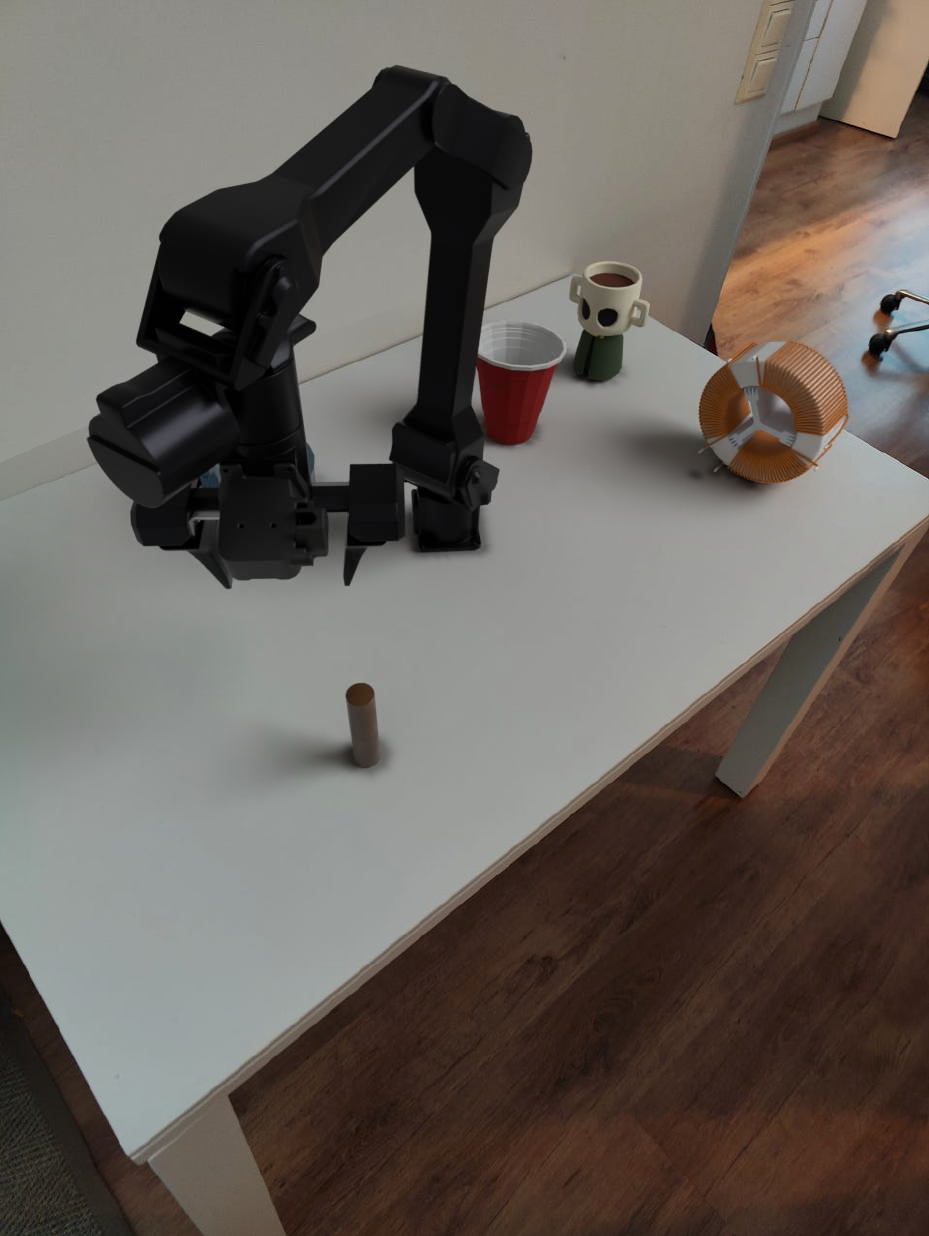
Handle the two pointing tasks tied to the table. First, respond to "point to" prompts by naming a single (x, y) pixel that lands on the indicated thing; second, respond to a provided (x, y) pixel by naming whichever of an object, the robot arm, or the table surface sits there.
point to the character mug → (606, 315)
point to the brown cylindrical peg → (363, 724)
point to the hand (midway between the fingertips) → (288, 583)
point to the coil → (773, 411)
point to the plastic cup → (515, 376)
